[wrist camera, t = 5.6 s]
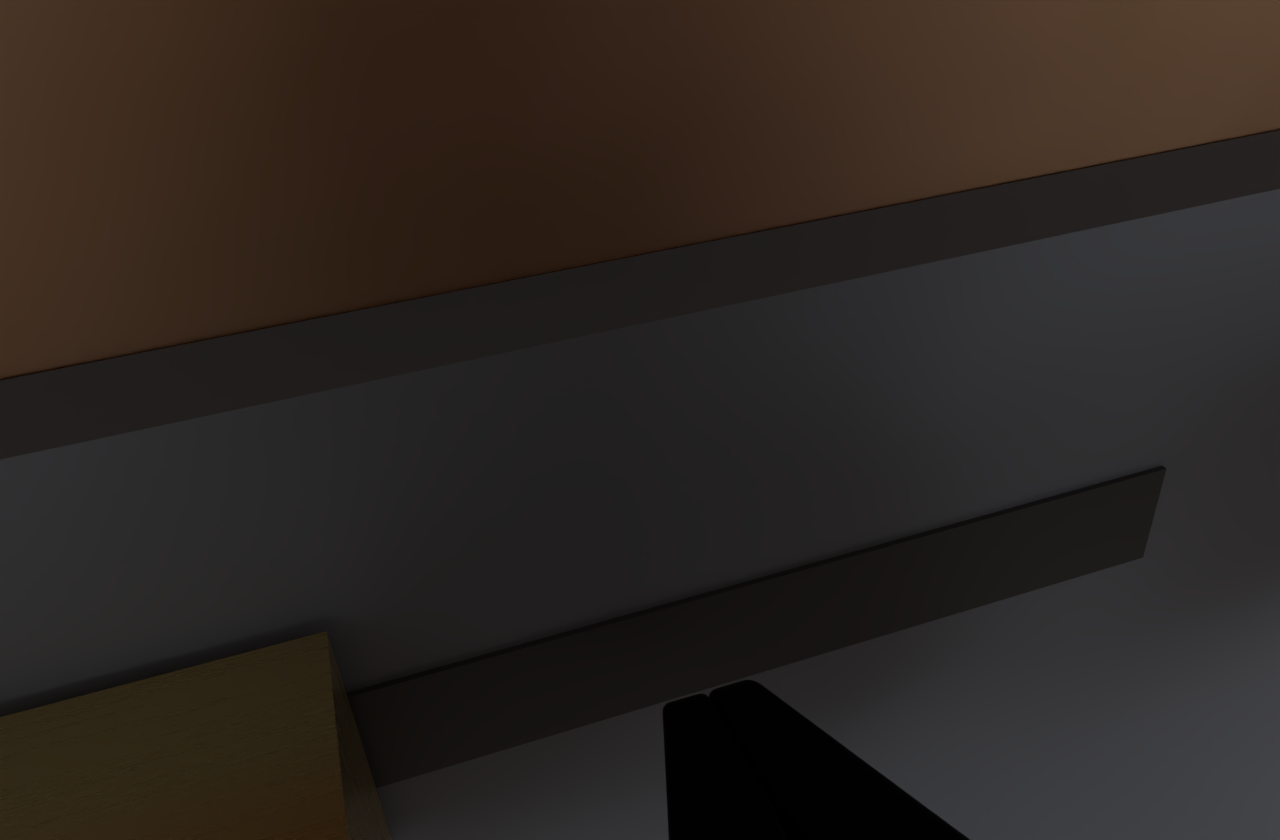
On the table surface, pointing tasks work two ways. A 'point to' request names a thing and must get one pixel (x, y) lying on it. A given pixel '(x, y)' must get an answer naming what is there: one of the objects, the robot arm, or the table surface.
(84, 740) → the brass slider
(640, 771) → the panel
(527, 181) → the table surface
